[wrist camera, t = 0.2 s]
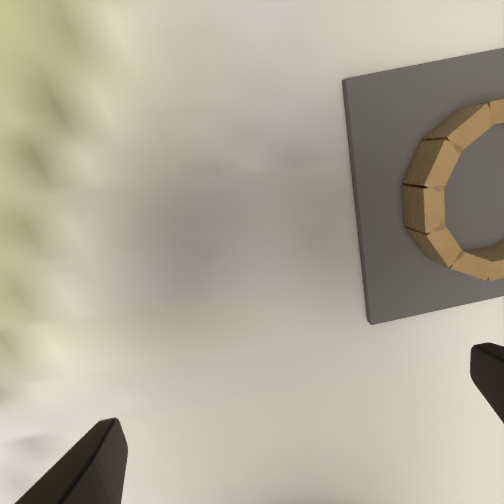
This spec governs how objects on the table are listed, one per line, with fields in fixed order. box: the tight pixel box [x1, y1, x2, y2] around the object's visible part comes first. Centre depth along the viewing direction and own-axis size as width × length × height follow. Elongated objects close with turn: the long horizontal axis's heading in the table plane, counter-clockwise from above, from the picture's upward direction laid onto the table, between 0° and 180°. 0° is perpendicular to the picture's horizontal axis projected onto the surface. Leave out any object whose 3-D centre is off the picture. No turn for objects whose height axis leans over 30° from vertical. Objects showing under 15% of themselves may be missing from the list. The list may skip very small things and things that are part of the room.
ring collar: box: [401, 99, 504, 281], centre depth 21 cm, size 10×10×2 cm
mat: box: [342, 48, 504, 325], centre depth 23 cm, size 16×16×1 cm
